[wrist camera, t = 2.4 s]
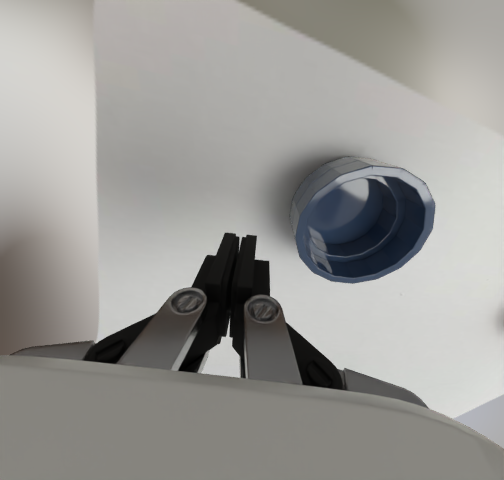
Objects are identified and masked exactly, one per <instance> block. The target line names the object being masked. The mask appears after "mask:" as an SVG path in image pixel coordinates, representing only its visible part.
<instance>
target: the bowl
mask: <svg viewBox="0 0 504 480" xmlns="http://www.w3.org/2000/svg"><path fill="white" fill-rule="evenodd" d="M434 214H435V202H434V200H433V198H432V196H431V194H430V191H429V189H428V187H427V185H426V183H425V182H424V181H422V180H421V179H419V178H418V177H416V176H415V175H413V174H411V173H410V172H408V171H407V170H405V169H403V168H400V167H397V166H394V165H390V164H387V163H384V162H380V161H377V160H374V159H370V158H360V157H344V158H341V159H338V160H335V161H332V162H328V163H325V164H323V165H322V166H321V167H319V168H318V169H317V170H315V171H314V172H313V173H312V174H310V175H309V176H308V177H306V178H305V179H304V181H303V182H302V184H301V185H300V187H299V189H298V190H297V192H296V193H295V195H294V196H293V200H292V206H291V211H290V220H291V224H292V228H293V232H294V237H295V241H296V245H297V249H298V253H299V257H300V258H301V260H302V261H303V262H304V263H305V264H306V265H307V266H308V268H309V269H310V270H311V271H312V272H313V273H315V274H317V275H319V276H321V277H323V278H326V279H328V280H330V281H333V282H343V283H352V284H353V283H359V282H364V281H370V280H376V279H378V278H381V277H383V276H385V275H387V274H389V273H391V272H393V271H395V270H397V269H399V268H401V267H402V266H403V265H404V264H406V263H407V262H408V261H409V260H410V259H411V258H412V257H414V256H415V255H416V254H417V253H418V252H419V251H420V250H421V248H422V247H423V245H424V243H425V241H426V240H427V238H428V236H429V235H430V233H431V231H432V229H433V223H434Z"/></svg>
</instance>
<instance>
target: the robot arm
mask: <svg viewBox="0 0 504 480" xmlns="http://www.w3.org/2000/svg"><path fill="white" fill-rule="evenodd" d="M256 239H257V236H254V235H247V236H246V237H242V241H241V245H240V250H239V237H237V236H236V234H233V233H225V234H224V237H223V239H222V242H221V244H220V247H219V249H218V252H217V254H216V256H213V255H207V256H206V258H205V260H204V262H203V264H202V266H201V268H200V270H199V272H198V274H197V276H196V279H195V281H194V283H193V285H192V287H189V288H183V289H180V290H178V291H176V292H174V293H173V294H172V295H171V296H170V297H169V298H168V299H167V301H166V302H165V303H164V304H163V306H162V307H161V308H160V309H159V311H158V312H157V313H156V314H154V315H152V316H150V317H148V318H146V319H143V320H141V321H139V322H137V323H135V324H133V325H131V326H129V327H127V328H125V329H122V330H120V331H118V332H116V333H114V334H112V335H110V336H108V337H106V338H104V339H103V340H101V341H99V342H98V343H94V341H84V342H74V343H64V344H54V345H45V346H35V347H29V348H25V349H21V350H19V351H17V352H14V353H12V354H10V355H4V356H0V480H504V449H503V448H502V447H500V446H499V445H497V444H496V443H494V442H493V441H491V440H490V439H488V438H486V437H485V436H483V435H482V434H480V433H478V432H477V431H475V430H473V429H471V428H470V427H467V426H466V425H464V424H462V423H460V422H458V421H455V420H453V419H452V418H449V417H447V416H445V415H443V414H440V413H438V412H436V411H433V410H431V409H429V408H428V407H427V406H426V404H425V403H424V402H423V401H422V400H421V399H420V398H419V397H417V396H416V395H415V394H414V393H413V392H411V391H409V390H407V389H405V388H402V387H399V386H396V385H393V384H390V383H387V382H384V381H381V380H378V379H375V378H373V377H370V376H367V375H364V374H361V373H358V372H355V371H352V370H349V369H346V368H344V370H343V371H342V370H339V369H337V368H336V367H335V366H334V365H333V363H332V362H331V361H330V360H329V359H327V358H326V357H325V356H324V355H323V354H322V353H321V352H319V351H318V350H317V349H316V348H315V347H314V346H313V345H311V344H310V343H309V342H308V341H307V340H306V339H305V338H303V337H302V336H301V335H300V334H299V333H298V332H297V331H295V330H294V329H293V328H292V327H291V326H290V325H289V324H287V323H286V321H285V318H284V314H283V310H282V308H281V305H280V304H279V303H278V301H277V300H275V299H274V298H272V297H270V275H269V261H263V260H255V250H256ZM229 319H230V337H233V341H232V347H233V348H234V349H235V350H236V352H237V353H238V354H239V356H240V359H239V362H240V378H236V377H227V376H218V375H209V374H201V372H202V370H203V367H204V365H205V363H206V360H207V358H208V355H209V350H210V349H211V348H213V347H214V346H216V345H217V344H220V342H221V337H222V336H223V337H226V334H227V329H228V324H229Z"/></svg>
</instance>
